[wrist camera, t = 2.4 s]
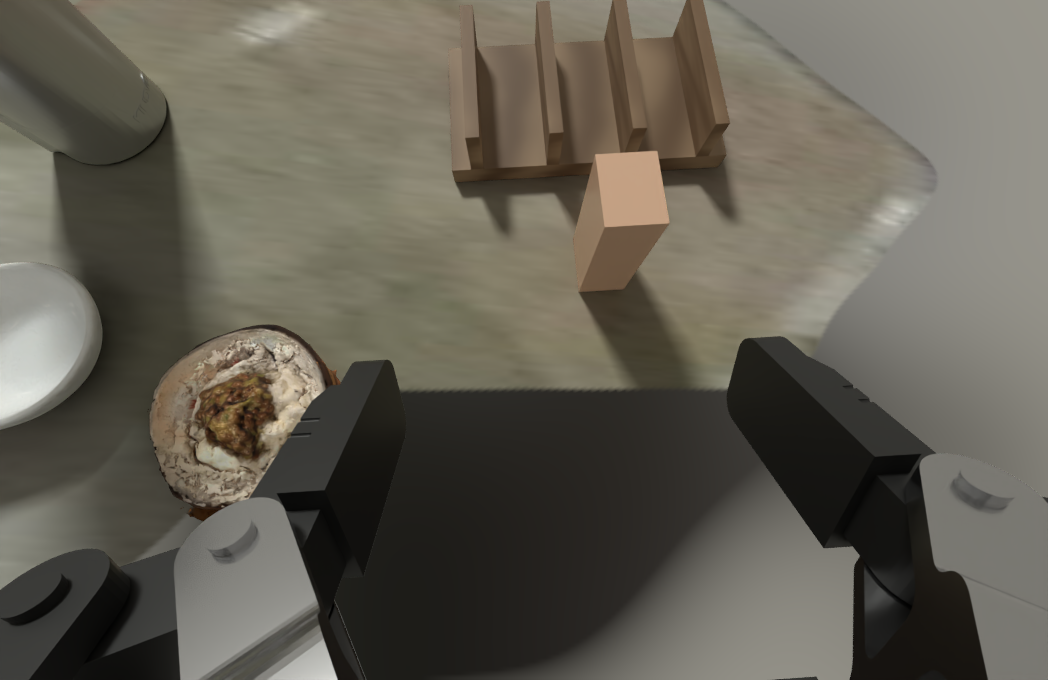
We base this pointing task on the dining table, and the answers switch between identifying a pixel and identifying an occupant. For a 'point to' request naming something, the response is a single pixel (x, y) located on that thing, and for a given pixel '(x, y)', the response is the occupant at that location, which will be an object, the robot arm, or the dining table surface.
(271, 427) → the pie
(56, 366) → the spoon rest
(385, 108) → the dining table surface
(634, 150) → the walnut rack
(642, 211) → the clay block
